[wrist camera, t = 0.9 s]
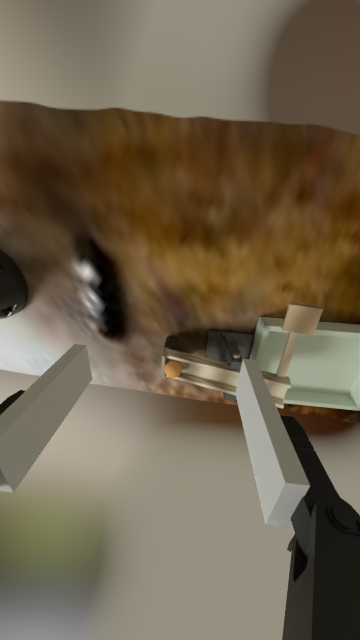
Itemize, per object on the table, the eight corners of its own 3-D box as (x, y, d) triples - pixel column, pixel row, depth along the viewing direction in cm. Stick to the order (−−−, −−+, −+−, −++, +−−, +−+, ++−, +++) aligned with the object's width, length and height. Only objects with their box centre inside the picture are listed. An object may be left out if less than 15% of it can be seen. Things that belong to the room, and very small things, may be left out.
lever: (167, 367, 42) (161, 377, 40) (170, 283, 35) (163, 287, 32) (284, 397, 36) (286, 412, 33) (318, 303, 29) (325, 312, 26)
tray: (242, 386, 48) (245, 399, 44) (258, 316, 40) (264, 325, 37) (347, 396, 47) (360, 410, 43) (385, 326, 39) (404, 336, 35)
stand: (166, 365, 47) (159, 396, 39) (167, 326, 43) (159, 350, 34) (243, 373, 46) (253, 406, 38) (252, 333, 42) (266, 360, 33)
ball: (167, 368, 41) (161, 379, 38) (168, 355, 39) (161, 365, 36) (183, 372, 40) (177, 383, 37) (184, 359, 38) (178, 369, 36)
